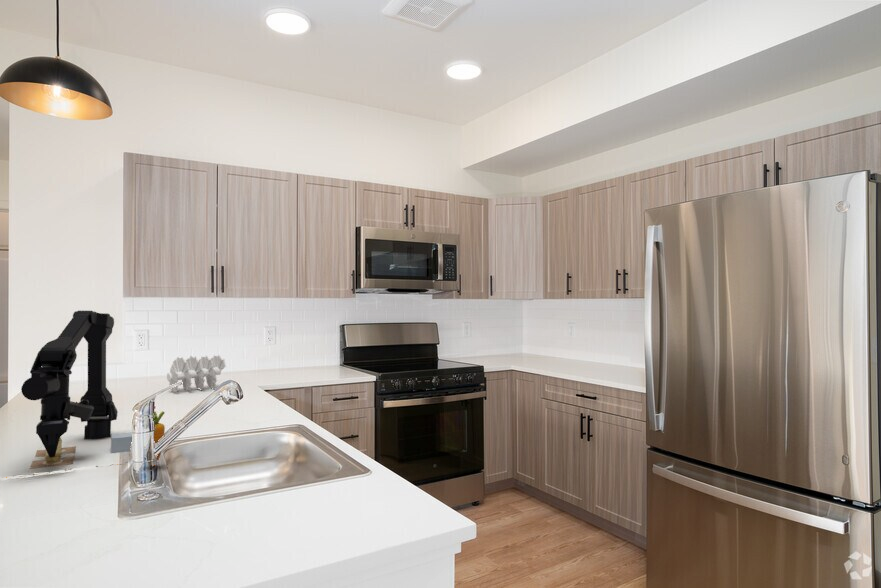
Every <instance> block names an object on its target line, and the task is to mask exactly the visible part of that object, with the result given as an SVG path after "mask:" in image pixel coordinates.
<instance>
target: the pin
mask: <svg viewBox="0 0 881 588" xmlns="http://www.w3.org/2000/svg"><path fill="white" fill-rule="evenodd" d="M61 440H62V436H61V437H60V439H59V443H58V446H57V450H56V454H55V457H49V455H48V453H47V451H46V456H45V458H44V460H45V463H47V464H51V463H57V462H60V461H61V458H62V454H61V448H62V447H61Z"/></svg>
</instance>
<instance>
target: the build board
mask: <svg viewBox="0 0 881 588" xmlns="http://www.w3.org/2000/svg"><path fill="white" fill-rule="evenodd" d="M74 462H75V456H74V455H73V456H65V457H61V461H60V462H57V463H51V464H47V463H45V459H38V460H37V459H36V460H32V462H31V464H30V467H29V470H34V469H42V468H49V467H50V468H52V467H58V466H65V465H66V466H68V465H73V464H74Z"/></svg>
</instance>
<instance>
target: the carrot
mask: <svg viewBox="0 0 881 588" xmlns="http://www.w3.org/2000/svg"><path fill="white" fill-rule="evenodd" d="M153 412H154V414H153V416H154V417H153V421H154V420H155V431H154V441H155V443H157V442H158V440H159V439H160V438H161V437H162V436H163V435H164V436H165V429H166V428H165V425H164V424H163V423H160V420H161V419H162V417H163V415H165V411H164V410H163V411H161V412H160V413H159V415H158V414H157V411H153ZM162 451H163V450H162ZM162 451H161V452H160V453H159V454H158V456H157V460H158V461H159V459H160V457H161V455H162Z"/></svg>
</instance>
